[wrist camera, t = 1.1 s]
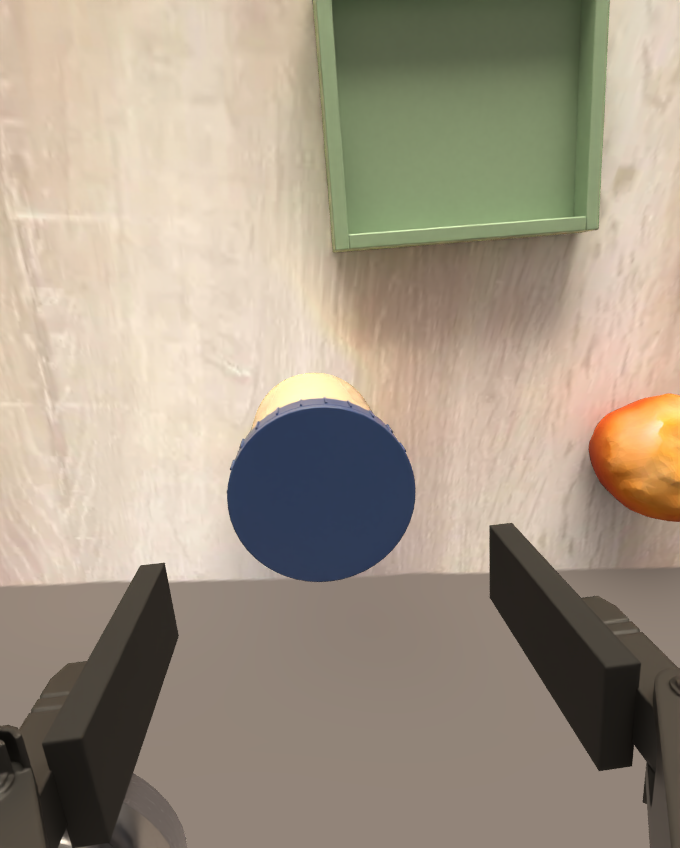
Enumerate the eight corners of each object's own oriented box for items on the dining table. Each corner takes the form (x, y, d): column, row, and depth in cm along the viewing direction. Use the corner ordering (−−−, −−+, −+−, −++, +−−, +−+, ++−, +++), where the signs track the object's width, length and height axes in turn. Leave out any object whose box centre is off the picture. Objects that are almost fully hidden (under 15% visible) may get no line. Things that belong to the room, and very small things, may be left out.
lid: (243, 572, 26) (239, 593, 24) (219, 406, 24) (212, 415, 22) (411, 552, 27) (420, 571, 25) (403, 388, 24) (412, 396, 22)
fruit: (602, 541, 36) (659, 537, 29) (554, 439, 38) (594, 409, 31) (710, 503, 36) (796, 488, 29) (655, 402, 38) (722, 364, 31)
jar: (260, 494, 35) (247, 579, 25) (245, 378, 33) (223, 419, 23) (377, 482, 35) (410, 560, 25) (369, 367, 33) (402, 402, 23)
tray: (332, 252, 31) (335, 250, 29) (311, -13, 28) (312, -36, 26) (579, 233, 32) (599, 229, 30) (590, -26, 29) (612, -50, 27)
